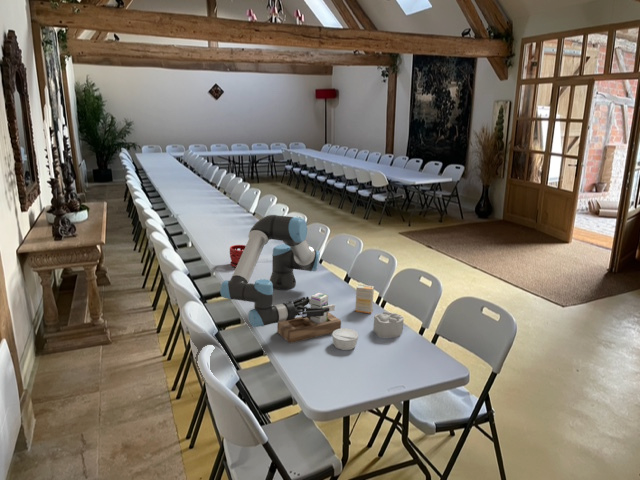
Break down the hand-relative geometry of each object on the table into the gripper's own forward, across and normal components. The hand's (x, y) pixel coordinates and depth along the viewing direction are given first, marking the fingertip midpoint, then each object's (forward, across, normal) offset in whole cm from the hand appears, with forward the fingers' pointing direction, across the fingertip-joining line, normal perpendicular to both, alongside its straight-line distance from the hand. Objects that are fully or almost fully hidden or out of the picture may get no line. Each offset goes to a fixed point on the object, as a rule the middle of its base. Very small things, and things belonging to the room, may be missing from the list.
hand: (327, 303), depth 215 cm
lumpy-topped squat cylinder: (+23, +17, -12) cm, 31 cm away
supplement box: (+27, -7, -12) cm, 30 cm away
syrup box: (-4, 0, -10) cm, 11 cm away
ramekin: (-2, +18, -12) cm, 22 cm away
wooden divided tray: (-9, 0, -12) cm, 15 cm away
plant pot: (-1, -99, -12) cm, 100 cm away
